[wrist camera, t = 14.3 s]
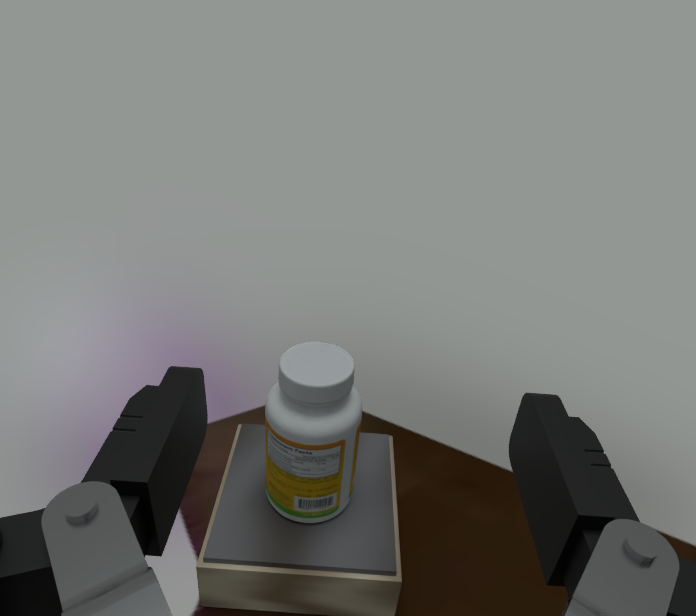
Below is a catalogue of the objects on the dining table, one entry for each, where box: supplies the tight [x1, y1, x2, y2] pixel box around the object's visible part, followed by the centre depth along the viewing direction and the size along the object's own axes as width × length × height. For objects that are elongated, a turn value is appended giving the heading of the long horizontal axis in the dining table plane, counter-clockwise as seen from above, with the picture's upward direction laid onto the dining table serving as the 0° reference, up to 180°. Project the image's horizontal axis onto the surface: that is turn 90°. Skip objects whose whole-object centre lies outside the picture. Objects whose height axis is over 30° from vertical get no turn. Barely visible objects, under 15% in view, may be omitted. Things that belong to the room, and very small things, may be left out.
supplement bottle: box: [265, 342, 362, 523], centre depth 30 cm, size 5×5×10 cm
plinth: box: [196, 423, 402, 616], centre depth 34 cm, size 11×11×4 cm
